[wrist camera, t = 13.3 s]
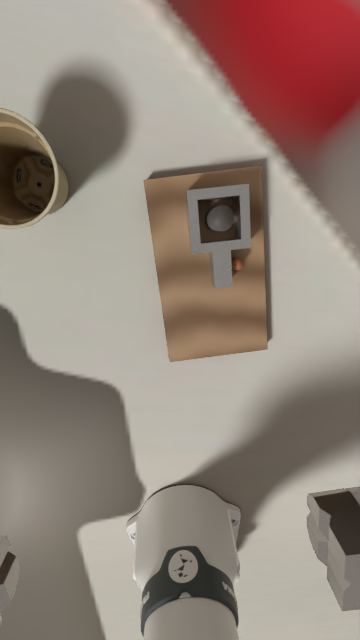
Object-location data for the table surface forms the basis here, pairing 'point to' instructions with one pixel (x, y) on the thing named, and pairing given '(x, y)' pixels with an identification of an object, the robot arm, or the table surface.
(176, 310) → the board
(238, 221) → the grey square frame
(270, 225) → the table surface
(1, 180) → the flower pot
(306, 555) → the table surface
